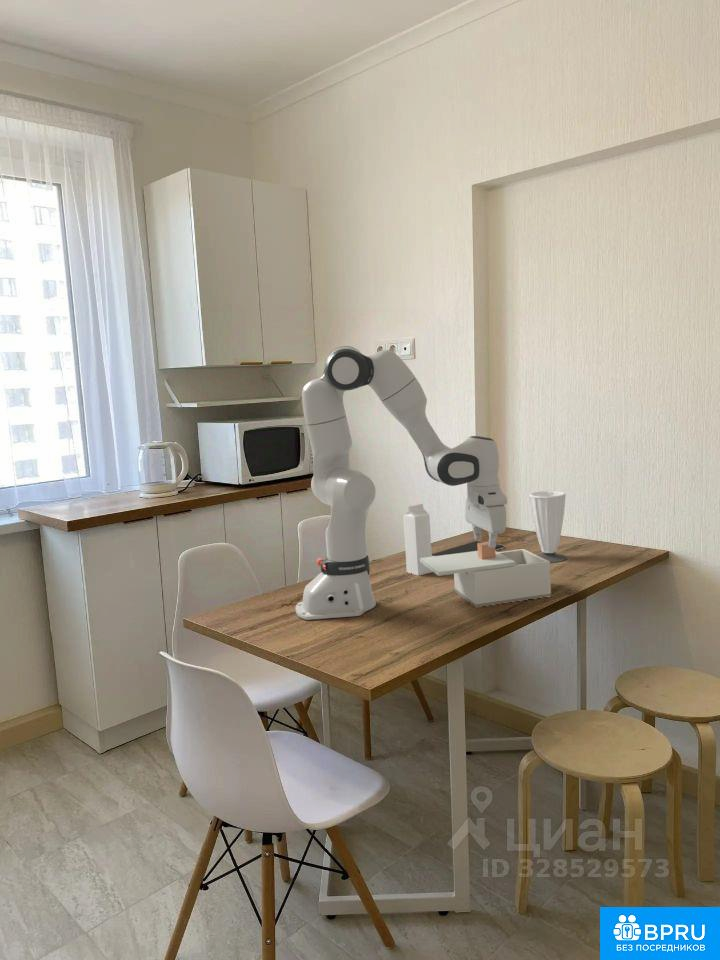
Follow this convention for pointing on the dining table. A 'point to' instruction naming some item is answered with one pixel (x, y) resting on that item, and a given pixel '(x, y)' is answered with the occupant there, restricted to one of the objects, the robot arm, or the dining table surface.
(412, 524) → the milk
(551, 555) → the cup
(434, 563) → the lid
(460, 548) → the smartphone
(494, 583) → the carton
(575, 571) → the dining table surface
